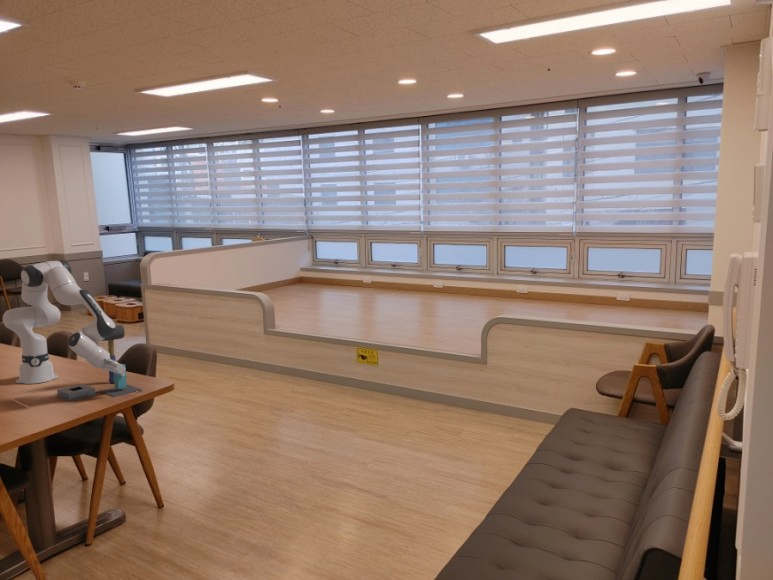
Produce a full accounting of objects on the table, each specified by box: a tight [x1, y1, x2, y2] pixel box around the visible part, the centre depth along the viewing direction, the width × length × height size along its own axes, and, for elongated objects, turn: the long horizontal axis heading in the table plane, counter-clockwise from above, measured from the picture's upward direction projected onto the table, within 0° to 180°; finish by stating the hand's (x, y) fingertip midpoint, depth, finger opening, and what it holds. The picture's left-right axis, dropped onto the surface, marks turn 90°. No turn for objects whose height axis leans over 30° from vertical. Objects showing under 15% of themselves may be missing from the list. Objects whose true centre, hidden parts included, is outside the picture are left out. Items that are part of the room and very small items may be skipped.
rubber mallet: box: [101, 324, 125, 383], centre depth 293 cm, size 12×8×30 cm, turn 131°
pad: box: [99, 384, 143, 398], centre depth 280 cm, size 14×14×1 cm
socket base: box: [56, 383, 96, 402], centre depth 271 cm, size 12×12×4 cm
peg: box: [113, 363, 128, 389], centre depth 279 cm, size 4×4×11 cm
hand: (121, 374), depth 280 cm, fingers closed on peg, 4 cm apart
